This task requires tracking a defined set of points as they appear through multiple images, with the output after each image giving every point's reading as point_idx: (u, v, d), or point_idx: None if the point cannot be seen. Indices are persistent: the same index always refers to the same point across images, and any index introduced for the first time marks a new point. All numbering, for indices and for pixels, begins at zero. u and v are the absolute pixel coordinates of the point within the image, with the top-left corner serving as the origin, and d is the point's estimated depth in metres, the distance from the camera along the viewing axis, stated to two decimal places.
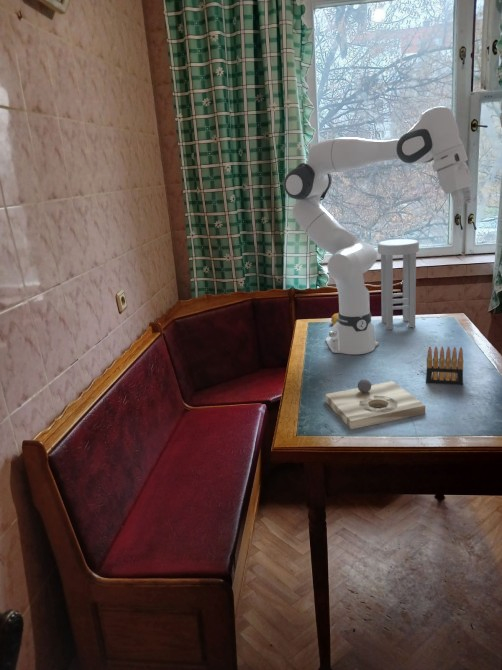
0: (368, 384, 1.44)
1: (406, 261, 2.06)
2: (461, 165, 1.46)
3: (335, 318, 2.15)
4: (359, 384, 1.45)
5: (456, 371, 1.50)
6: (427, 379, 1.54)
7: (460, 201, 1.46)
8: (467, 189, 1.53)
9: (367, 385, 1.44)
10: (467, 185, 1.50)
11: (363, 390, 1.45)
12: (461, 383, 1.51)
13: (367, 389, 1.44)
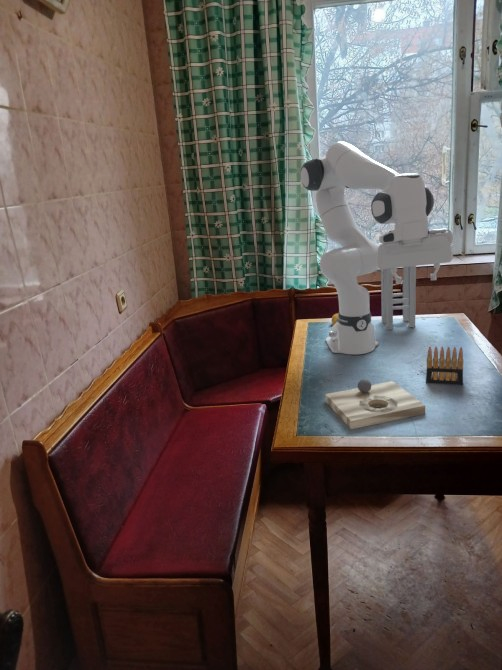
0: (368, 384, 1.44)
1: None
2: (405, 243, 1.37)
3: (335, 318, 2.14)
4: (359, 384, 1.45)
5: (456, 371, 1.50)
6: (427, 379, 1.54)
7: None
8: (434, 266, 1.37)
9: (367, 385, 1.44)
10: (421, 263, 1.37)
11: (363, 390, 1.45)
12: (461, 383, 1.51)
13: (367, 389, 1.44)
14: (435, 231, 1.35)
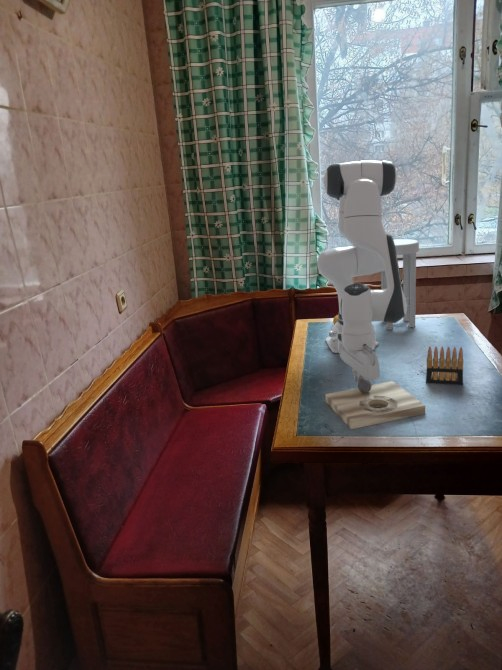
0: (368, 384, 1.44)
1: (406, 261, 2.06)
2: (347, 348, 1.47)
3: None
4: (359, 384, 1.45)
5: (456, 371, 1.50)
6: (427, 379, 1.54)
7: None
8: None
9: (367, 385, 1.44)
10: (356, 371, 1.45)
11: (363, 390, 1.45)
12: (461, 383, 1.51)
13: (367, 389, 1.44)
14: (365, 348, 1.39)
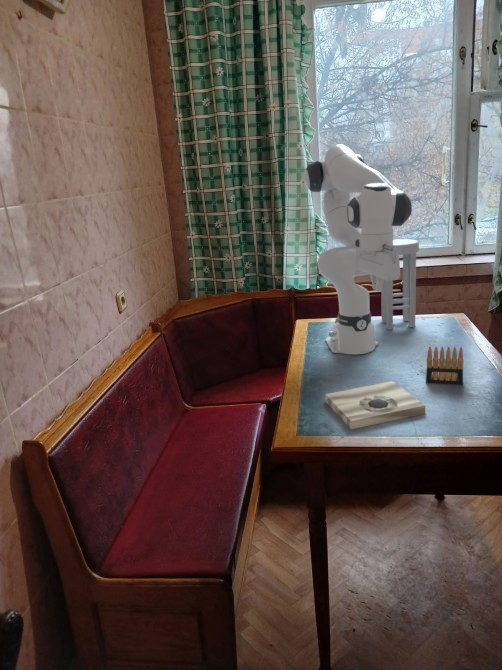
0: None
1: (406, 261, 2.06)
2: None
3: None
4: (371, 404, 1.39)
5: (456, 371, 1.50)
6: (427, 379, 1.54)
7: None
8: None
9: None
10: (375, 275, 1.41)
11: (376, 403, 1.37)
12: (461, 383, 1.51)
13: (379, 400, 1.38)
14: (386, 247, 1.35)
